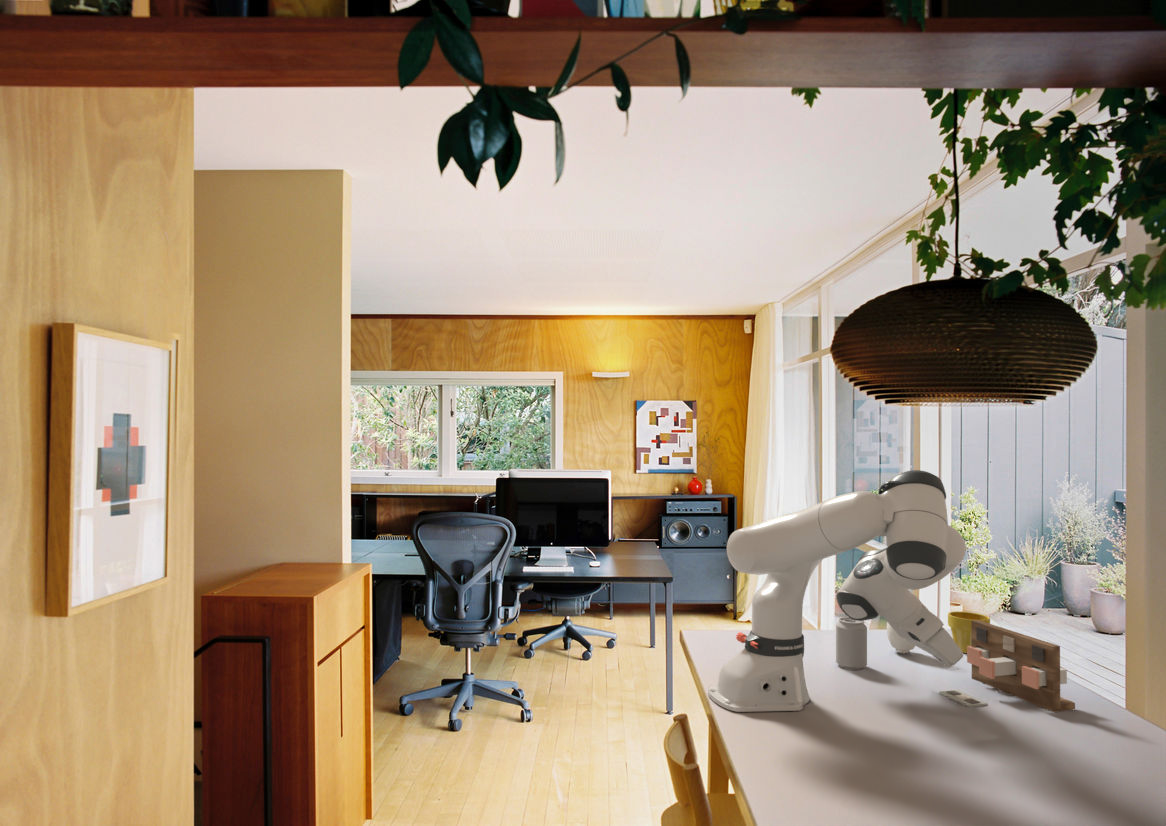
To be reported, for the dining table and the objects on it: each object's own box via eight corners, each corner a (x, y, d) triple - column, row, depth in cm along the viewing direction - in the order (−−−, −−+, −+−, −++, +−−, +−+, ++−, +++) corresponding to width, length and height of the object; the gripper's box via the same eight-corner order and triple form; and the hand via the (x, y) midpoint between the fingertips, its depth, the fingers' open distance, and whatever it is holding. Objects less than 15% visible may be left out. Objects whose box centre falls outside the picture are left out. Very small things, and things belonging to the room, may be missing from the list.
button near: (1036, 689, 165) (1036, 671, 165) (1021, 683, 168) (1021, 666, 168) (1068, 685, 167) (1068, 668, 167) (1053, 680, 171) (1053, 663, 171)
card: (968, 707, 166) (968, 704, 166) (939, 693, 175) (939, 690, 175) (987, 705, 168) (987, 702, 168) (957, 691, 176) (957, 689, 176)
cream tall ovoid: (881, 649, 210) (881, 584, 210) (905, 647, 212) (905, 582, 212) (899, 657, 202) (899, 589, 203) (924, 656, 204) (924, 588, 205)
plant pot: (984, 647, 213) (983, 612, 213) (995, 657, 203) (994, 621, 203) (944, 644, 215) (943, 609, 216) (953, 655, 205) (952, 618, 206)
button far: (979, 666, 180) (979, 650, 180) (967, 662, 184) (967, 646, 184) (1009, 664, 182) (1009, 648, 182) (996, 659, 186) (996, 643, 186)
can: (862, 662, 198) (862, 616, 198) (870, 671, 191) (870, 623, 191) (833, 661, 199) (833, 615, 199) (839, 670, 191) (839, 622, 192)
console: (1051, 712, 164) (1051, 646, 164) (970, 678, 186) (970, 620, 186) (1075, 709, 165) (1074, 644, 166) (991, 676, 187) (991, 619, 188)
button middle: (991, 679, 171) (991, 662, 171) (978, 673, 175) (978, 657, 175) (1023, 675, 174) (1023, 659, 174) (1010, 670, 177) (1010, 654, 177)
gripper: (879, 617, 185) (915, 660, 186) (923, 640, 165) (963, 688, 165) (898, 600, 186) (934, 642, 186) (944, 620, 165) (984, 668, 166)
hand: (948, 664), depth 175 cm, fingers closed
